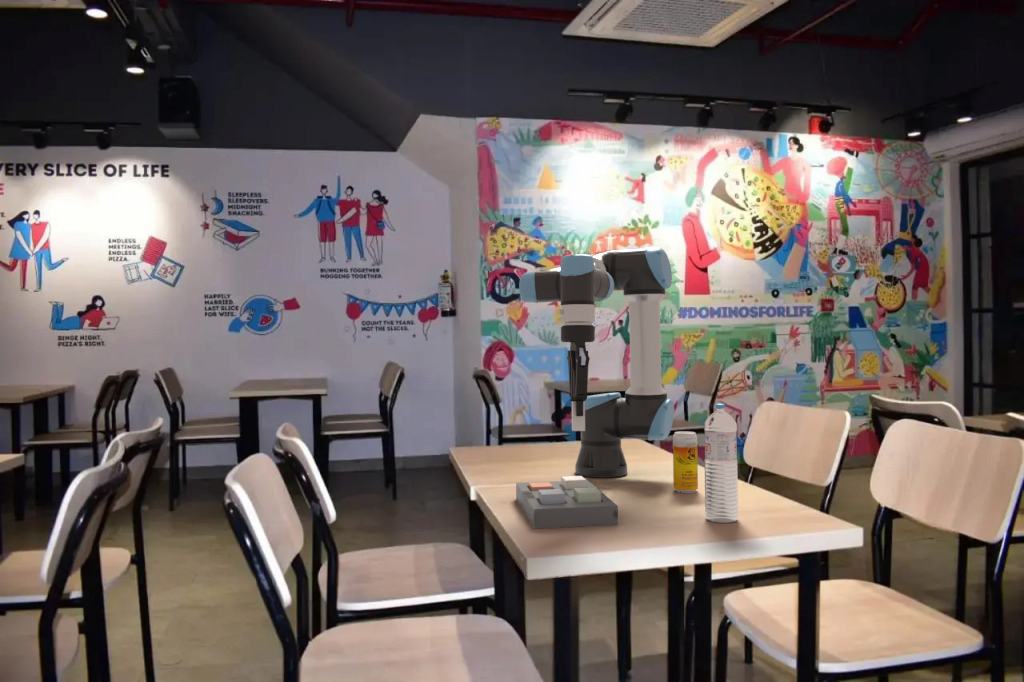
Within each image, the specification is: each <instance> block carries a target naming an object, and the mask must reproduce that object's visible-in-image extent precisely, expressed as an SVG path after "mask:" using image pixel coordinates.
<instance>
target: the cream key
mask: <svg viewBox="0 0 1024 682" xmlns="http://www.w3.org/2000/svg"><path fill="white" fill-rule="evenodd" d="M586 480H587V479H586V478H585V477H584V476H582V475H569V476H561V479H560V481H561V487H562V488H563V489H564V490H566V489H574V488H586Z"/></svg>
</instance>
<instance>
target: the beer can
mask: <svg viewBox="0 0 1024 682" xmlns="http://www.w3.org/2000/svg"><path fill="white" fill-rule="evenodd" d="M672 450H673V451H672V456H673V457H672V461H673V463H672V464H673V466H672V467H673V469H672V470H673V475H672V477H673V481H672V482H673V483H672V484H673V489H674V490H675V492H676V491H677V493H680V492H681V494H695V493H696V492H697V490H698V488H699V473H698V472H699V471H698V469H699V468H698V467H699V466H698V465H699V464H698V460H699V459H698V456H699V455H698V436H697V433H696V432H695V431H686V430H685V431H683V430H682V431H675V432H674V434H673V436H672Z"/></svg>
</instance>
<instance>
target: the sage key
mask: <svg viewBox="0 0 1024 682" xmlns="http://www.w3.org/2000/svg"><path fill="white" fill-rule="evenodd" d="M596 488H597V487H596ZM596 488H574V501H575V502H576V503H588V502H601V492H602V491H601V490H600V489H599V488H597V489H596ZM598 489H599V490H600V491H601V492H600V491H599V490H598Z"/></svg>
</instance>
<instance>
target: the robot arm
mask: <svg viewBox="0 0 1024 682" xmlns="http://www.w3.org/2000/svg"><path fill="white" fill-rule="evenodd" d="M670 262H671V261H670V259H669V256H668V254H667V252H666V251H665V250H664V249H663V248H661V247H651V246H650V247H637V248H627V249H626V248H625V249H613V250H612V249H610V250H607V251H602V252H599V253H596V254H592V255H591V254H581V253H580V254H576V253H575V254H566V255H564V256H562V258H561V259H560V266H559V267H555V268H550V269H547V270H542V271H540V270H539V271H535V270H534V271H530V272H524V273H523V274H522V275H521V276H520V279H519V284H518V285H519V286H518V287H519V288H518V289H519V295H520V297H521V299H522V300H523V302H526V303H535V304H538V303H553V302H560V309H558V312H557V313H558V314H560V322H561V324H563V325H561V327H560V341H561V342H562V343H570V344H569V345H570V347H569V350H568V351H567V355H566V356H567V357H566V359H567V367H568V385H569V387H568V389H569V397H570V403H571V431H572V432H580V448H579V452H578V455H577V458H576V462H575V467H574V470H575V471H574V472H575V474H576V475H577V476H582V477H589V478H590V477H591V478H613V477H614V478H616V477H623V476H626V475H627V474H628V464H627V461H626V457H625V455H624V451H623V448H622V439H629V440H633V439H634V440H648V441H659V440H660V441H661V440H665V439H666V438H667V437H668V436H669V434H670V433H671V430H672V427H673V422H674V417H675V406H674V405H675V403H674V401H673V399H670V398H668V392H667V390H666V389H665V388H664V387H663V386H662V361H661V360H662V358H661V357H662V354H661V353H662V352H661V351H662V348H661V346H662V345H661V341H662V340H661V301H662V299H664V297H665V296H666V290H667V289H668V290H669V289H670V288H671V286H672V280H673V274H672V267H671V263H670ZM614 291H623V297H624V299H626V300H627V301H628V307H629V309H628V310H629V311H628V312H629V313H628V315H629V320H628V321H629V361H630V362H629V363H630V364H629V365H630V366H629V369H630V370H629V372H630V374H629V375H630V378H629V379H630V386H629V387H628V389H627V390H625V394H624V395H625V396H624V397H622V395H621V393H620V392H618V391H617V392H607V393H600V394H598V393H597V394H593V395H588V383H589V382H588V381H589V364H590V363H589V362H590V356H589V351H588V350H587V346H586V343H594V341H595V340H596V335H595V334H596V333H595V332H596V330H595V327H596V326H594V325H593V323H595V322H596V313H595V311H596V308H595V307H596V306H595V302H602V301H605V300H607V299H609V298H610V297H611V295H612V294H613V292H614Z"/></svg>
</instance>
